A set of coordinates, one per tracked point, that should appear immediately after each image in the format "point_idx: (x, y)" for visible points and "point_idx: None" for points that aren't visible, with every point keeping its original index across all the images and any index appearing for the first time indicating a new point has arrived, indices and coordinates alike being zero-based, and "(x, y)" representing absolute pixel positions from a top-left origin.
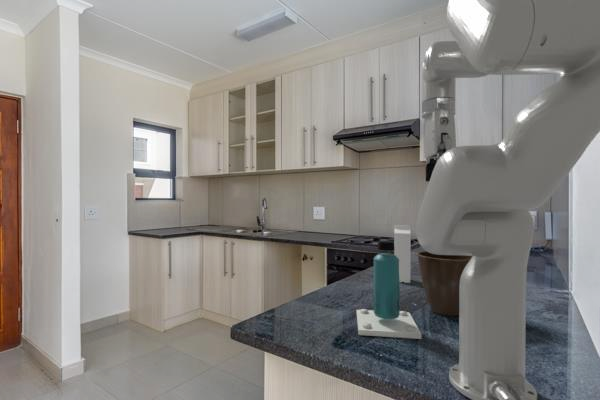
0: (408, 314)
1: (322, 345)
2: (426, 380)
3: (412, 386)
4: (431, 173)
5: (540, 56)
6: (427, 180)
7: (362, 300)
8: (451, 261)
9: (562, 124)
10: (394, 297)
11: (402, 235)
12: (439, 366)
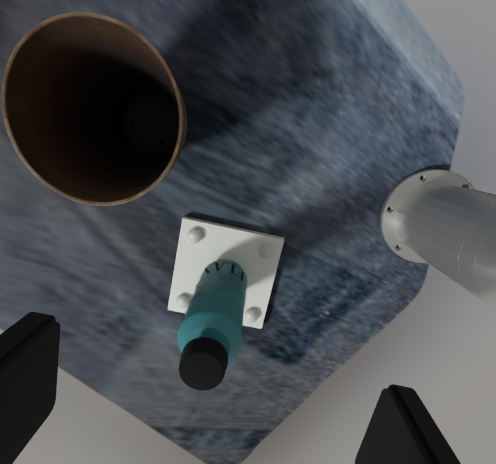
0: (195, 224)
1: (291, 376)
2: (396, 282)
3: (404, 302)
4: (6, 432)
5: None
6: (53, 405)
7: (88, 274)
8: (180, 143)
9: None
10: (244, 290)
11: None
12: (368, 251)
